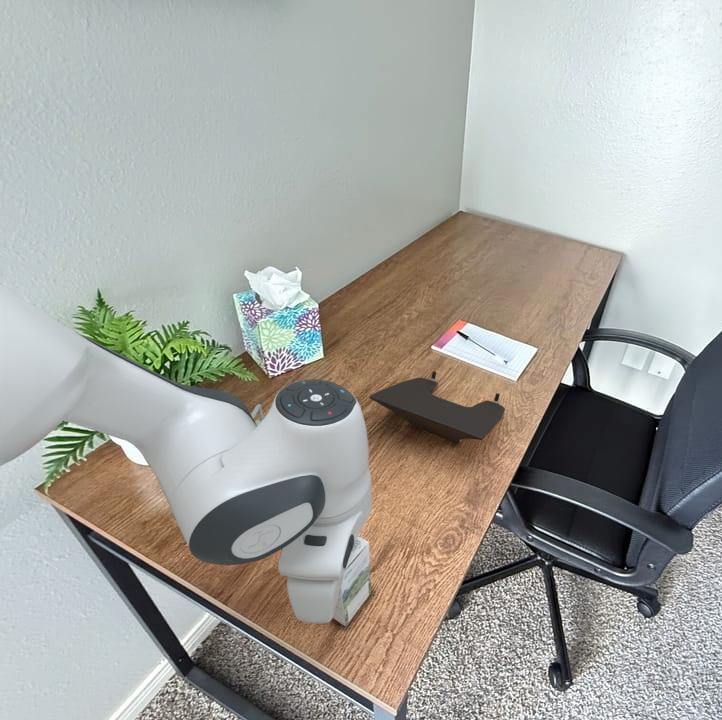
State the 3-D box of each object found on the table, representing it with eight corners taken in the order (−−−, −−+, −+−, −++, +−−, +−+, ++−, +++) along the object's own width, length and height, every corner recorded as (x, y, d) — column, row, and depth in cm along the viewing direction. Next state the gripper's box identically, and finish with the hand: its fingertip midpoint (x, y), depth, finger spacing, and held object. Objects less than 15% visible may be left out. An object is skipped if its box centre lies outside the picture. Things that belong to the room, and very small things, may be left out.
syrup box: (341, 573, 71) (334, 519, 62) (373, 593, 69) (369, 540, 60) (314, 606, 67) (302, 553, 58) (347, 629, 65) (339, 577, 56)
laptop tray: (503, 436, 104) (514, 398, 102) (473, 474, 82) (486, 427, 80) (412, 402, 109) (421, 366, 107) (361, 430, 88) (371, 385, 86)
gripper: (330, 428, 61) (339, 491, 69) (270, 584, 45) (291, 641, 53) (378, 432, 61) (382, 495, 70) (335, 589, 45) (346, 645, 54)
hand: (342, 559), depth 61 cm, fingers open, 8 cm apart
